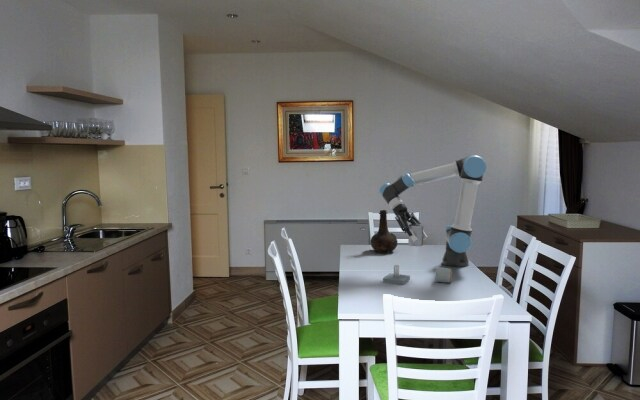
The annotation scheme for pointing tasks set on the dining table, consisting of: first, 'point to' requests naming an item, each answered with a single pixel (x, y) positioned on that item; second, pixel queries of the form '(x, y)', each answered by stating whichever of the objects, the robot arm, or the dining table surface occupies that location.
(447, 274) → the ceramic mug
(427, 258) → the dining table surface
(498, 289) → the dining table surface
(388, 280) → the peg block
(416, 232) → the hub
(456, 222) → the robot arm
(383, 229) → the dark brown rounded piece
